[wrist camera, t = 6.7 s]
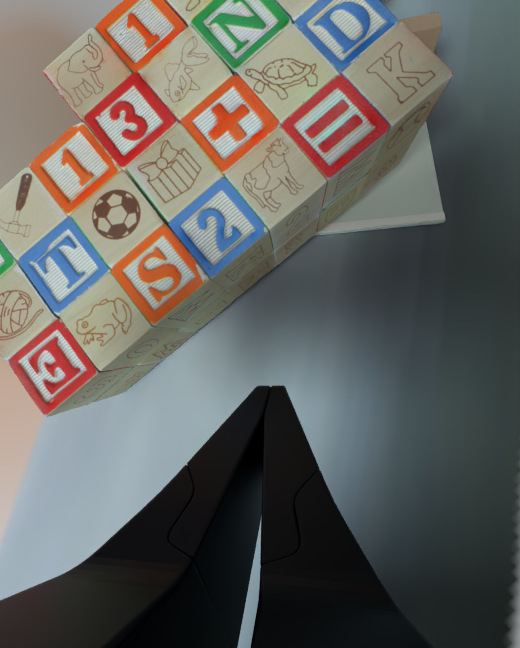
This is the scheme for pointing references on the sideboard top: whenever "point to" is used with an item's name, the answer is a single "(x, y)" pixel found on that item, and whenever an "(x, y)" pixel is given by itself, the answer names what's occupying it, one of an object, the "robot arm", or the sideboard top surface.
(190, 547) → the robot arm
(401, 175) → the dock pad
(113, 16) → the stack of blocks
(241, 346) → the sideboard top surface
